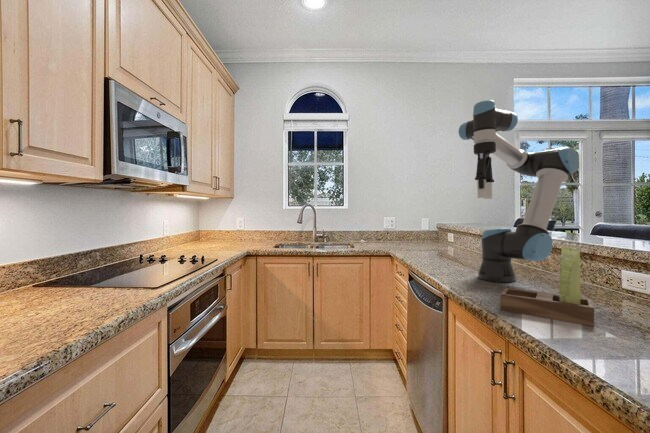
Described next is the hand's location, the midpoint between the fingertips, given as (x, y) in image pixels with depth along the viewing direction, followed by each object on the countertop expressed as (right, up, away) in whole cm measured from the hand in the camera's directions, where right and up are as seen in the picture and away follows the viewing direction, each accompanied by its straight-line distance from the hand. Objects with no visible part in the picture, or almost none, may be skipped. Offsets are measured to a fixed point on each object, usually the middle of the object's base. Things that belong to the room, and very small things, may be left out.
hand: (485, 198), depth 114 cm
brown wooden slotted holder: (+6, -37, -23) cm, 44 cm away
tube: (+10, -36, -27) cm, 46 cm away
